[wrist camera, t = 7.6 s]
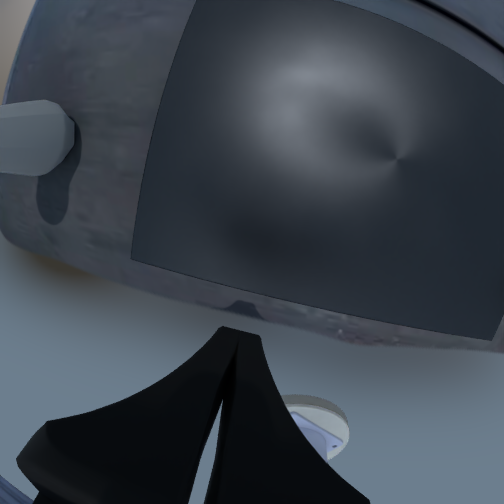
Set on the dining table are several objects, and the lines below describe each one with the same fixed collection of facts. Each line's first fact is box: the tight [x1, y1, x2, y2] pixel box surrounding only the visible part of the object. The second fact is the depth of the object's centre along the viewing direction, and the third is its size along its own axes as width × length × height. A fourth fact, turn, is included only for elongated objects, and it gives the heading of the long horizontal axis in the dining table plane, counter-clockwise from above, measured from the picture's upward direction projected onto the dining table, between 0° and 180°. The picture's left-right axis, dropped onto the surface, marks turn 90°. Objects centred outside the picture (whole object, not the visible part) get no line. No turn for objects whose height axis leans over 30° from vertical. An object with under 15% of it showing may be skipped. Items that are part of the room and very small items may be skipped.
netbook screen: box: [131, 0, 504, 341], centre depth 14 cm, size 18×26×1 cm
